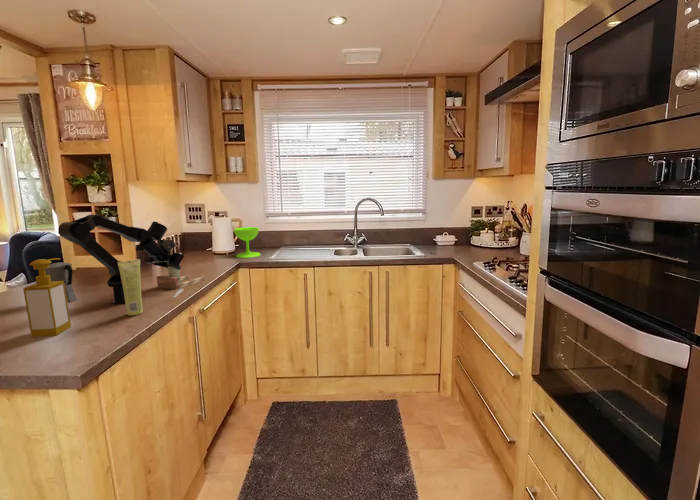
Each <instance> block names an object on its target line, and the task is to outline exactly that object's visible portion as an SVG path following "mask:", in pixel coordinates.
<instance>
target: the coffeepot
mask: <svg viewBox="0 0 700 500" xmlns="http://www.w3.org/2000/svg"><path fill="white" fill-rule="evenodd" d="M54 261H55V262H54V263H49V268H45V272H46V275H50V278H51V281H64V282H63V283H64V284H65V291H66V297H67V304H69V303H72V302H75V301H77V295H76V293H75V290H74V288H73V285H72V284H73V283H72V281H73V272H74V270H73V267H72V263H71V262H60V260H54Z"/></svg>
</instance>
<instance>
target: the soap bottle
mask: <svg viewBox="0 0 700 500" xmlns="http://www.w3.org/2000/svg"><path fill="white" fill-rule="evenodd" d="M55 260H59V261H61V258H60V257H53V258H48V259H46V258H44V259H43V258H41V259H40V258H39V259H36V260H33V261H32V262H31V263H29V266H32V268H33V270H38V275H37V276H35V278H34V279H35V282H36V283H33V284H31V285H28V286H25V287H23V296H24V301H25V302H24V303H25V308H26V313H27V319H28V326H29V330H30V337H31V338H35V337H37V338H41V337H55V336H59V335H60V334H62V333H63V332H65V331H67V330H68V329H70V328H72V324H71V318H70V317H71V316H70V311H69V303H67V297H66V291H65V284H64V283H63V282H64V281H51V278H50V275H46V272H45V268H49V265H50V264H53V263H52V261H55Z"/></svg>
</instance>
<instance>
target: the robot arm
mask: <svg viewBox="0 0 700 500" xmlns="http://www.w3.org/2000/svg"><path fill="white" fill-rule="evenodd" d="M95 228H99V229H102V230H105V231H108V232H111V233H113V234H117V235H119V236H121V237H122V238H123V239H125V240H127V241H129V242H131V243H138V244H136V245H135V246H136V248H135V251H137V252H146V253H147V255H146V257H145V258H144V262H145V263H146V264H147V265H150V266H151V265H154V266H155V267H161V268H165V269H168V266H169V267H172V268H175V269H178V270H179V271H180V270H181V269H182V268H181V265H180V264H181V262H182V261H183V259H184V257H185V255H184V254H183V253H182V252H180V251H179V252H177V251H176V252H173V253H172V254H170V253H171V252H172V251H171V250H172V249H173V248H175V247H176V244H175V241H174V240H173V239H170V238H168V239H162V238H163V237H164V235H165V234H166V233H167V231H168V227H167V226H166V225H164V224H161V223H160V222H158V221H152V222H151V225H150V226H149V227H148V229H145V228H141V227H138V226H137V227H135V226H129V225H127V224H126V225H125V224H123V223H120V222H118V221H114V220H112V219H109V218H107V217H103V216H102V215H100V214H95V213H94V214H87V215H86V216H83V217H80V218H78V219H74V220H72V221H64V222H62V223H60V225H59V226H58V229H57V232H58V235H59V236H60V237H62V238H63V239H65V240H67V241H69V242H71V243H74V244H76V245H78V246H79V247H81V248H83V250H84V251H86V252H87V253H89V255H90V256H92V257H93V258H95V259H96V260H97V261H98V262H99V263H101V264H102V265H103V266H104V267H105V268H106V269H107V270H108V273H109V275H110V278H109V279H108V280H107V282H106V284H107V286H108V287H109V288H112V290H113V298H114V299H113V301H111V302H110V304H112V305H113V304H126V303H125V297H124V291H123V285H122V280H121V275H120V271H119V267H118V262H123V261H119V260H118V259H117V258H115V256H113V255H112V253H110V252H109V251H108V250H107V249H105V248H104V247H103V246H102V245H101V244H100V243H98V242H97V241H96V240H95V239H94V238H93V236H92V234H91V231H93V230H94V229H95ZM168 260H169V261H168ZM167 262H168V263H169V265H168V263H167Z"/></svg>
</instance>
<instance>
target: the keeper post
mask: <svg viewBox="0 0 700 500" xmlns="http://www.w3.org/2000/svg"><path fill="white" fill-rule="evenodd" d="M168 261H169V260H168ZM167 263H168V262H167ZM168 265H169V263H168ZM167 270H168V276H170V277H179V284H181V283H182V281H180V277H181V275H180V272H181V271H180V270H178V269H175V268H172V267H169V266H168V268H167Z"/></svg>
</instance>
